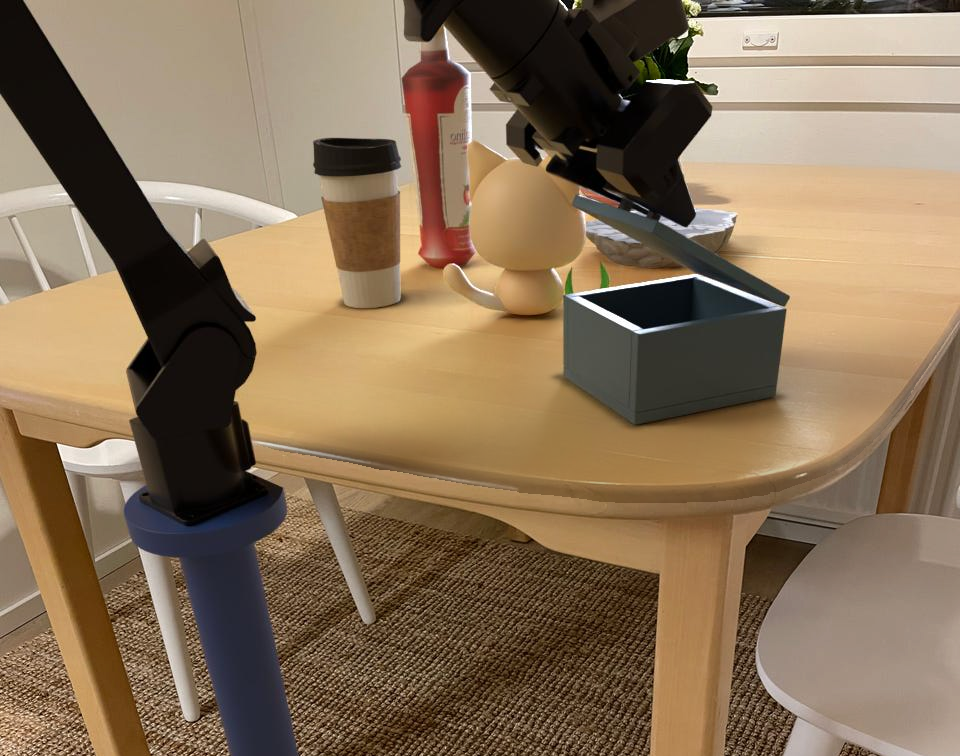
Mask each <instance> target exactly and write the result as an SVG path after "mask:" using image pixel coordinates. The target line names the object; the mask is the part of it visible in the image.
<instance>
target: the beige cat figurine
mask: <svg viewBox="0 0 960 756" xmlns="http://www.w3.org/2000/svg"><path fill="white" fill-rule="evenodd" d="M467 158H468V167H469V194H470V200H471V209H470V216H469V230H470V237H471V240H472V243H473V246H474V248H475V250H476V253H477V254H478V255H479V257H481V258H482V259H483V260H484V261H486V262H487V263H489V264H490V265H492V266H496V267H497V268H501V269H504V270H503V271H502V272H501V274H500V276H499V278H498V280H497V282H496V284H495V288H494V292H493V293H491V292H488V291H485V290H481V289H479V288H477V287H475V286H474V285H473V284H472V283H471V282H470V281H469V279H468V277H467V276H466V274H465V272H464V271H463V269H462V268H461V266H457V265H456V264H448V265H447V266H446V267H445V268H443V271H442V276H443V280H444V281H445V283H446V285H447V286H448V287H449V288H450V289H451V290H452V291H453V292H455V293H457V294H459V295H460V296H462V297H464V298H466V299H467V300H470V302H472V303H474V304H476V305H477V306H480V307H482V308H485V309H488V310H492V311H498V312H507V313H510V314H511V315H512V314H513V315H518V316H535V315H542V314H546V313H550V312H552V311H553V310H555V309H556V308H557V307H558V306H559V305H560V304H561V303H562V302H563V295H567V294H573V293H574V289H573V267H570V270H569V272H568V274H567V276H566V280H565V284H563V282H562V280H561V277H560V276H559V274H558V272H557V271H556V270H555V269H558V268H562V267H565V266H568V265H569V264H571V263H572V262H574V261H576V259H578V258H579V256H580V255H581V253H582V252H583V250H584V248H585V244H586V239H587V237H586V223H585V222H586V215H585V212H583V211H581V210H579V209H578V208H576V207H574V206H572V202H573V200H574V197H575V195H580V196H582V195H581V187H580V186H577V185H575V184H573V183H570V182H568V181H566V180H563V179H561V178H559V177H556V176H554V175H551V174H549V173H547V172H546V166H547V164H548V163H549V161H550V160H551V158H550V156H549V155H548V154H547V155H546V156H545V157H544V158H543V157H542V162H541V163H540V164H539V165H538V167H536V166H532V165H529V164H525V163H523V162H522V161H521V160H520V159H519V158H518V157H517V156H515V157H511V158H508V159H507V158H506V157H504V156H503V155H501V154H499V153H498V152H497V151H495V150H493V149H491V148H489V147H488V146H487V145H485V144H484V143H482V142H480V141H478V140H475V139H474V140H471V142H470V144H469V145H468V150H467ZM599 271H600V280H601V281H600V282H601V283H600V285H599V286H600V287H599V289H605V288H610V283H611V279H610V275H609V273H608V271H607V269H606V267H605V265H604V264H603V263H602V262H601V261H599Z"/></svg>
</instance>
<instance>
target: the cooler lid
mask: <svg viewBox="0 0 960 756" xmlns="http://www.w3.org/2000/svg"><path fill="white" fill-rule="evenodd" d="M683 176H684V179H685V175H684V174H683ZM633 205H634V204H633V203H631V202H629V201H627V200H625V199H622V200H621V202H620V204H619V203H618V206H614V205H611V204H608V203H604V202H601V201H598V200H595V199H592V198H589V197H586V196H583V195H575V197H574V200H573V202H572V206H574V207H576V208H578V209H579V210H581V211H583V212H584V214H587V215H589V216H590V217H592V218H594V219H596V220H600V221H601V222H603V223H605V224H607V225H609V226H610V227H612V228H614V229H616V230H618V231H620V232H621V233H623V234H625V235H627V236H629V237H631V238H632V239H634V240H636V241H638V242H640V243H642V244H643V245H645V246H647V247H649V248H651V249H653V250H654V251H656V252H658V253H660V254H662V255H663V256H665V257H667V258H669V259H671V260H673V261H674V262H676V263H678V264H680V265H682V266H681V267H683V268H686V269H687V270H689V271H691V272H693V273H694V274H698V275H700V276H703V277H705V278H708V279H711V280H713V281H716V282H718V283H721V284H724V285H726V286H729V287H731V288H734V289H736V290H739V291H742V292H744V293H747V294H749V295H752V296H755V297H757V298H760V299H762V300H765V301H768V302H770V303H773V304H775V305H778V306H780V307H783V308H785V307H786V306H787V304H788V302H789V300H790V299H791V296H790V295H789V294H787V293H786V292H784V291H782V290H780V289H778V288H777V287H776V286H774V285H771V284H770V283H768V282H767V281H764V280H763V279H761V278H759V277H757V276H756V275H754V274H752V273H751V272H750V271H749V272H748V271H747V270H746V269H743V268H742V267H740V266H738V265H737V264H735V263H733V262H731V261H729V260H728V259H726V258H725V257H723V256H721V255H719V254H718V253H716V254H715V253H714V252H712V251H710V250H708V249H707V248H705V247H703V246H701V245H700V244H698V243H696V242H694V241H693V240H691V239H689V238H687V237H686V236H684V235H682V234H680V233H679V232H677V231H675V230H673V229H672V228H670V227H668V226H666V225H665V224H663V223H661V222H659V220H660V218H661V216H659V215H656V214H654V213H652V212H650V211H649V212H648V214H647V216H646V217H645V216H642V215H639V214H636V213H633V212H630V211H632V210H633V209H632V207H633Z"/></svg>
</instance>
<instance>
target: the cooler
mask: <svg viewBox="0 0 960 756" xmlns="http://www.w3.org/2000/svg"><path fill="white" fill-rule="evenodd" d="M562 304H563V305H562V311H563V312H562V315H563V316H562V317H563V318H562V321H563V322H562V326H563V327H562V328H563V329H562V333H563V334H562V338H563V341H562V343H563V344H562V349H563V350H562V351H563V352H562V354H563V355H562V356H563V357H562V359H563V361H562V363H563V364H562V365H563V374H562V375H563V378H565V379H567V380H568V381H569V382H571V384H574V385H575V386H577V387H578V388H580V389H581V390H583V391H584V392H585V393H587V394H588V395H590V396H592V398H594V399H596V400H597V401H599V402H600V403H602V404H603V405H605V406H606V407H607V408H609V409H610V410H612V411H613V412H615V413H616V414H617V415H619V416H620V417H622V418H624V420H626V421H628V422H629V423H631V424H632V425H634V426H637V425H642V424H646V423H652V422H657V421H661V420H666V419H672V418H677V417H681V416H688V415H690V414H696V413H701V412H707V411H711V410H717V409H720V408H721V409H722V408H726V407H731V406H736V405H740V404H741V405H742V404H745V403H751V402H755V401H761V400H765V399H769V398H775V397H776V395H777V387H778V386H777V385H778V380H779V373H780V365H781V356H782V349H783V341H784V333H785V326H786V318H787V308H785V307H783V306H780V305H778V304H775V303H772V302H770V301H767V300H765V299H762V298H759V297H757V296H754V295H752V294H749V293H746V292H744V291H741V290H739V289H736V288H733V287H731V286H728V285H726V284H723V283H720V282H718V281H715V280H713V279H710V278H707V277H705V276H702V275H700V274H697V273H694V274H689V275H682V276H676V277H675V276H674V277H669V278H663V279H657V280H650V281H644V282H638V283H637V282H636V283H631V284H623V285H618V286H612V287H609V288H605V289H600V288H599V289H593V290H587V291H580V292H575V293H574V292H573V294H567V295H565V294H564V295H563V299H562Z"/></svg>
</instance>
